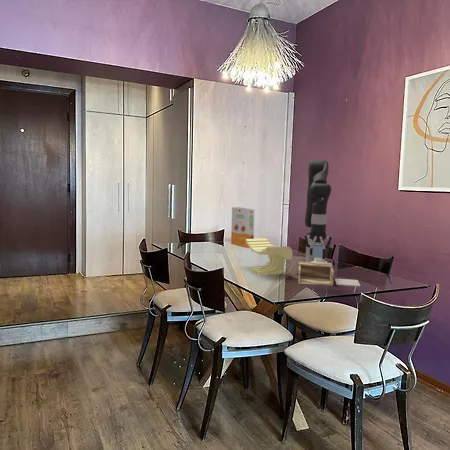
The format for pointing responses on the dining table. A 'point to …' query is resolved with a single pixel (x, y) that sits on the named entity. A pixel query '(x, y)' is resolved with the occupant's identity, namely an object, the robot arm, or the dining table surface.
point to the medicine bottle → (320, 260)
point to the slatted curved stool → (274, 253)
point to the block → (317, 251)
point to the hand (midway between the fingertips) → (317, 255)
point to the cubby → (315, 273)
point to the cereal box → (242, 226)
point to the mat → (347, 282)
